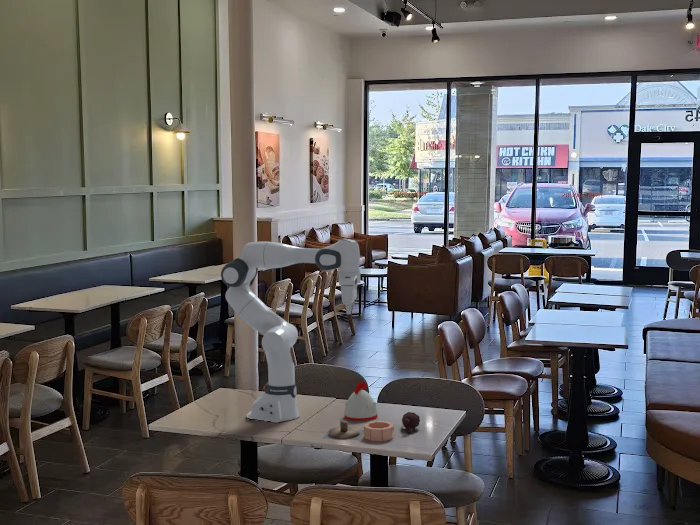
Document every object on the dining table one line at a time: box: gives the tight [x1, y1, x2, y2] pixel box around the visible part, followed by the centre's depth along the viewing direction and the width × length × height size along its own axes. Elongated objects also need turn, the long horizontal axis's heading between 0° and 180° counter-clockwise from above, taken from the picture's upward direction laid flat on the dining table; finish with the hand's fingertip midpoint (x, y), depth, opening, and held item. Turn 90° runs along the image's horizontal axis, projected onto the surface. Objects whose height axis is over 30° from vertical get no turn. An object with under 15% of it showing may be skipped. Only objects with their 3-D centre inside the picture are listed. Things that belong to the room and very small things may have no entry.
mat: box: [322, 429, 364, 441], centre depth 309 cm, size 14×12×1 cm
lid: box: [328, 420, 361, 440], centre depth 309 cm, size 12×12×5 cm
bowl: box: [363, 420, 395, 442], centre depth 305 cm, size 11×11×5 cm
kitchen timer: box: [343, 380, 378, 422], centre depth 333 cm, size 14×14×15 cm
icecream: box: [401, 411, 421, 434], centre depth 316 cm, size 7×7×15 cm
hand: (350, 312), depth 325 cm, fingers open, 8 cm apart
